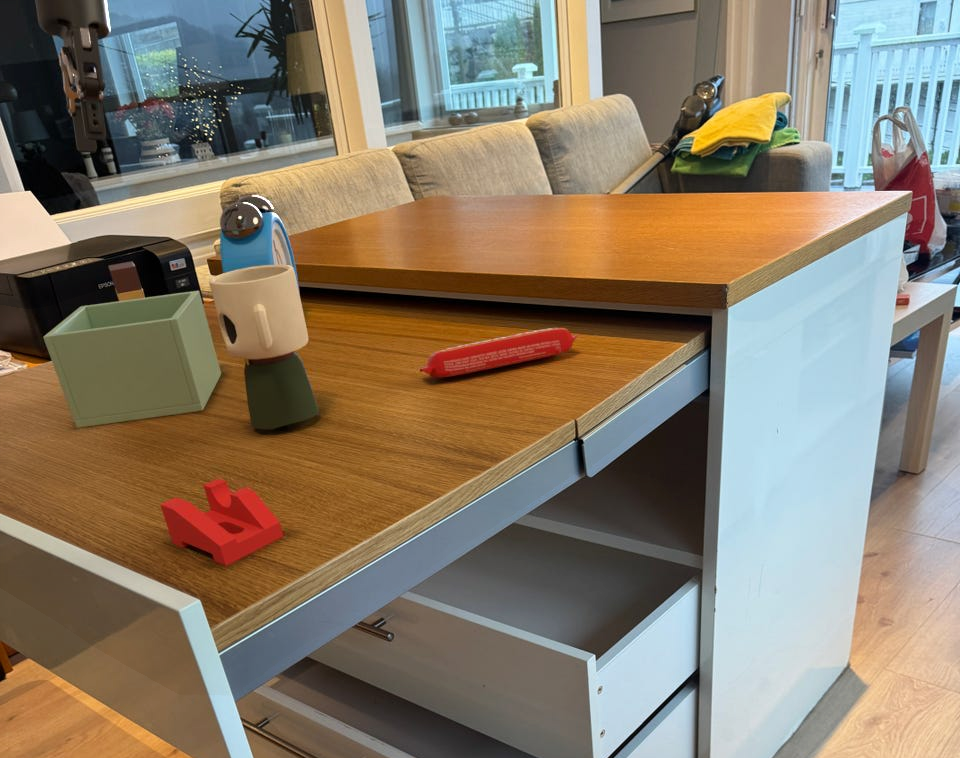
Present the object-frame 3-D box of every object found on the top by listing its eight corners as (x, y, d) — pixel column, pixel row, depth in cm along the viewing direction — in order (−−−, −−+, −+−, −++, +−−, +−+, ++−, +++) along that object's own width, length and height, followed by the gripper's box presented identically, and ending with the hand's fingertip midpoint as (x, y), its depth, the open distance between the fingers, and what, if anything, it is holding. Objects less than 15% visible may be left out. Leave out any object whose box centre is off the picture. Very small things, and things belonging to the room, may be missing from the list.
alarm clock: (289, 341, 107) (258, 203, 98) (238, 347, 107) (203, 210, 99) (306, 314, 118) (280, 188, 109) (260, 319, 118) (230, 194, 110)
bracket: (173, 543, 63) (160, 504, 61) (229, 516, 66) (218, 478, 64) (225, 565, 59) (213, 524, 57) (283, 536, 62) (273, 496, 60)
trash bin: (76, 428, 87) (42, 336, 83) (108, 389, 98) (80, 306, 93) (202, 411, 88) (176, 318, 83) (221, 374, 98) (199, 290, 93)
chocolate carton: (130, 338, 117) (107, 265, 112) (154, 333, 118) (133, 261, 113) (133, 345, 114) (109, 270, 109) (158, 340, 114) (135, 266, 110)
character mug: (246, 412, 86) (209, 268, 79) (320, 398, 87) (290, 256, 80) (248, 450, 77) (206, 293, 70) (330, 435, 78) (297, 278, 71)
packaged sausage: (568, 348, 92) (567, 318, 90) (583, 356, 89) (581, 326, 87) (419, 378, 89) (414, 348, 87) (428, 389, 86) (424, 357, 84)
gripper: (27, -3, 104) (52, 154, 110) (36, -46, 92) (62, 132, 98) (96, 7, 108) (116, 158, 113) (113, -34, 96) (134, 137, 101)
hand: (91, 146), depth 105 cm, fingers open, 8 cm apart
